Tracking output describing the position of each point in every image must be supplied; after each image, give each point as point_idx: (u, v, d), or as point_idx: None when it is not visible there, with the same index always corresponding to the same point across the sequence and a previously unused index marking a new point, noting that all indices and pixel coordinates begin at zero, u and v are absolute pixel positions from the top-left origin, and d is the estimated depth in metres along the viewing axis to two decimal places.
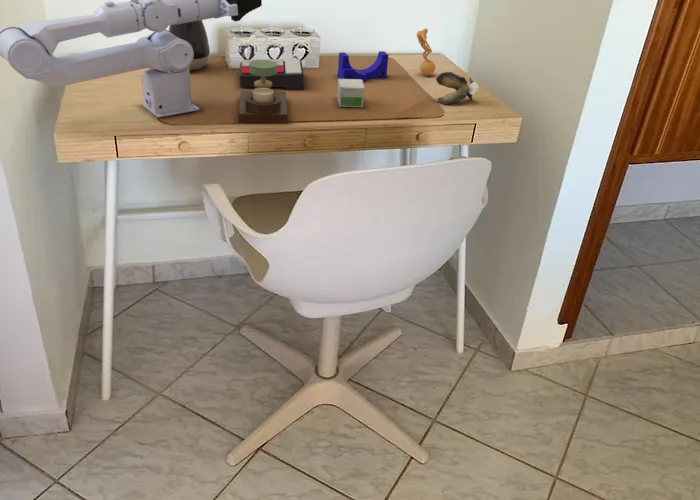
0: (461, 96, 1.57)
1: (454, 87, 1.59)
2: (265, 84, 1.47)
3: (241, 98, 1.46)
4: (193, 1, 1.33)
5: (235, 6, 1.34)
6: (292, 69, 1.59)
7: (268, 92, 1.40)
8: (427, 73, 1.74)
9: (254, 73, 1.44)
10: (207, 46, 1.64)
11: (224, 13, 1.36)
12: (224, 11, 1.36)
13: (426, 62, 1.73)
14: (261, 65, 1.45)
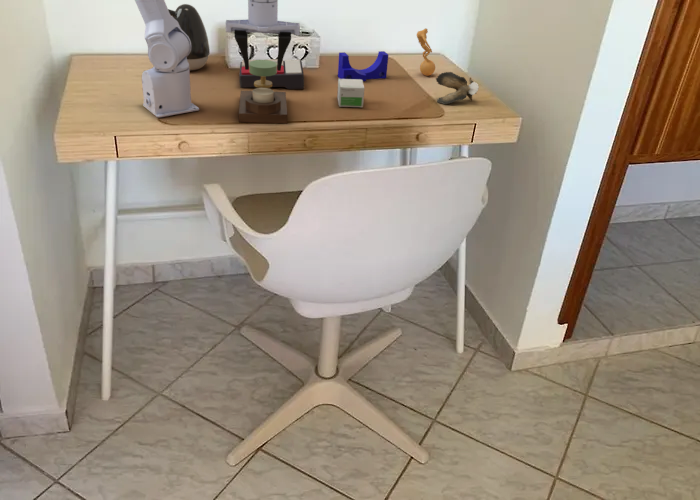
0: (461, 96, 1.57)
1: (454, 87, 1.59)
2: (265, 84, 1.47)
3: (241, 98, 1.46)
4: None
5: None
6: (292, 69, 1.59)
7: (268, 92, 1.40)
8: (427, 73, 1.74)
9: (254, 73, 1.44)
10: (207, 46, 1.64)
11: (239, 21, 1.33)
12: (238, 21, 1.33)
13: (426, 62, 1.73)
14: (261, 65, 1.45)
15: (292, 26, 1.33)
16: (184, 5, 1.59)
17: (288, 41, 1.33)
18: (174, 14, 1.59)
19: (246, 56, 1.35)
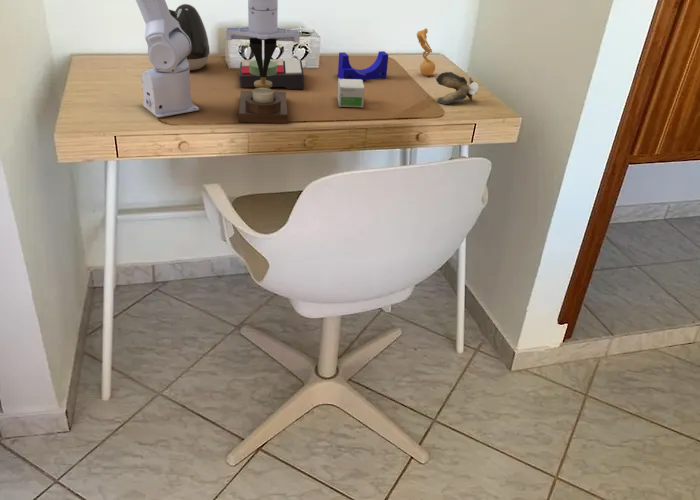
0: (461, 96, 1.57)
1: (454, 87, 1.59)
2: (265, 84, 1.47)
3: (241, 98, 1.46)
4: (268, 6, 1.29)
5: (226, 37, 1.33)
6: (292, 69, 1.59)
7: (268, 92, 1.40)
8: (427, 73, 1.74)
9: (254, 73, 1.44)
10: (207, 46, 1.64)
11: (239, 28, 1.34)
12: None
13: (426, 62, 1.73)
14: None
15: (292, 33, 1.34)
16: (184, 5, 1.59)
17: (274, 48, 1.33)
18: (174, 14, 1.59)
19: (261, 64, 1.36)
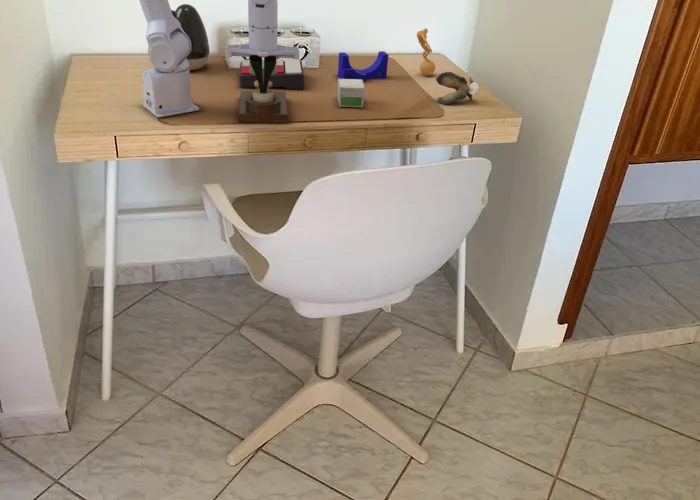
0: (461, 96, 1.57)
1: (454, 87, 1.59)
2: None
3: (241, 98, 1.46)
4: (268, 24, 1.31)
5: None
6: (292, 69, 1.59)
7: (268, 93, 1.40)
8: (427, 73, 1.74)
9: (254, 73, 1.44)
10: (207, 46, 1.64)
11: (239, 46, 1.36)
12: None
13: (426, 62, 1.73)
14: None
15: (292, 51, 1.35)
16: (184, 5, 1.59)
17: (273, 65, 1.35)
18: (174, 14, 1.59)
19: (261, 80, 1.38)
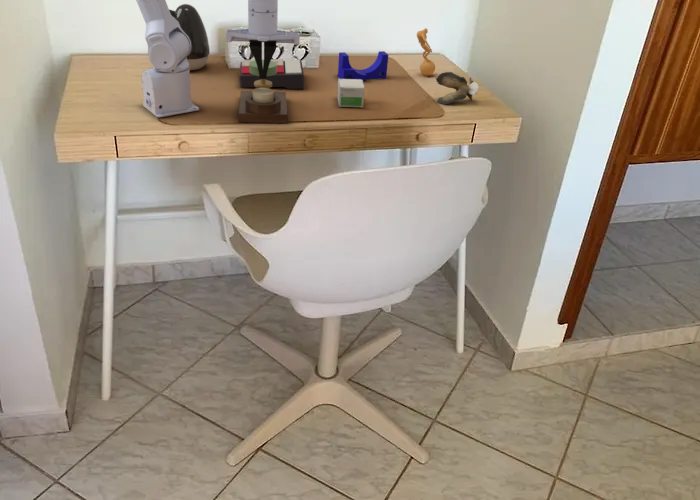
0: (461, 96, 1.57)
1: (454, 87, 1.59)
2: (265, 84, 1.47)
3: (241, 98, 1.46)
4: (268, 8, 1.29)
5: (226, 39, 1.33)
6: (292, 69, 1.59)
7: (268, 92, 1.40)
8: (427, 73, 1.74)
9: (254, 73, 1.44)
10: (207, 46, 1.64)
11: (239, 30, 1.34)
12: (239, 31, 1.34)
13: (426, 62, 1.73)
14: None
15: (292, 36, 1.34)
16: (184, 5, 1.59)
17: (273, 50, 1.34)
18: (174, 14, 1.59)
19: (261, 66, 1.36)
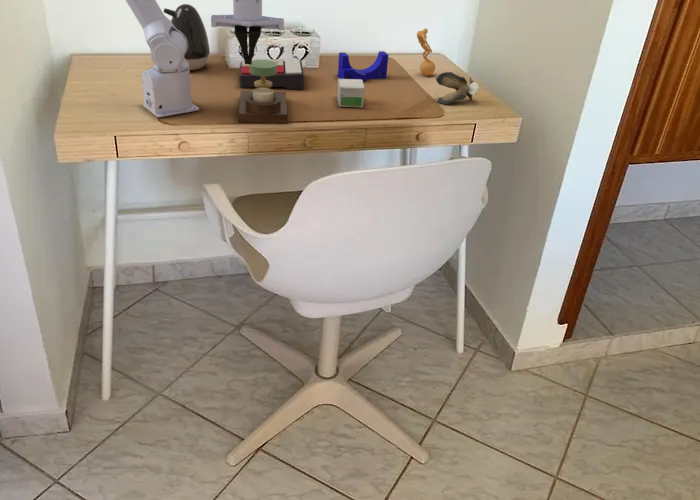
0: (461, 96, 1.57)
1: (454, 87, 1.59)
2: (265, 84, 1.47)
3: (241, 98, 1.46)
4: None
5: (211, 24, 1.35)
6: (292, 69, 1.59)
7: (268, 92, 1.40)
8: (427, 73, 1.74)
9: (254, 73, 1.44)
10: (207, 46, 1.64)
11: None
12: None
13: (426, 62, 1.73)
14: (261, 65, 1.45)
15: (276, 21, 1.36)
16: (184, 5, 1.59)
17: (258, 36, 1.35)
18: (174, 14, 1.59)
19: (246, 51, 1.38)
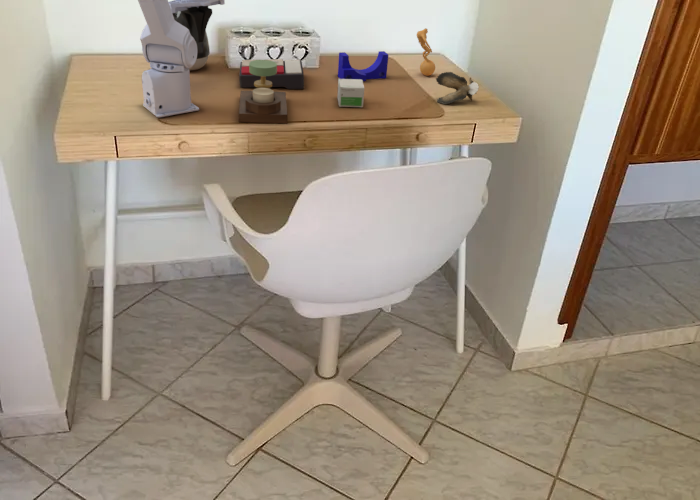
0: (461, 96, 1.57)
1: (454, 87, 1.59)
2: (265, 84, 1.47)
3: (241, 98, 1.46)
4: None
5: (170, 11, 1.42)
6: (292, 69, 1.59)
7: (268, 92, 1.40)
8: (427, 73, 1.74)
9: (254, 73, 1.44)
10: (207, 46, 1.64)
11: (175, 1, 1.44)
12: (176, 2, 1.44)
13: (426, 62, 1.73)
14: (261, 65, 1.45)
15: None
16: None
17: (211, 13, 1.48)
18: (174, 14, 1.59)
19: (200, 30, 1.49)
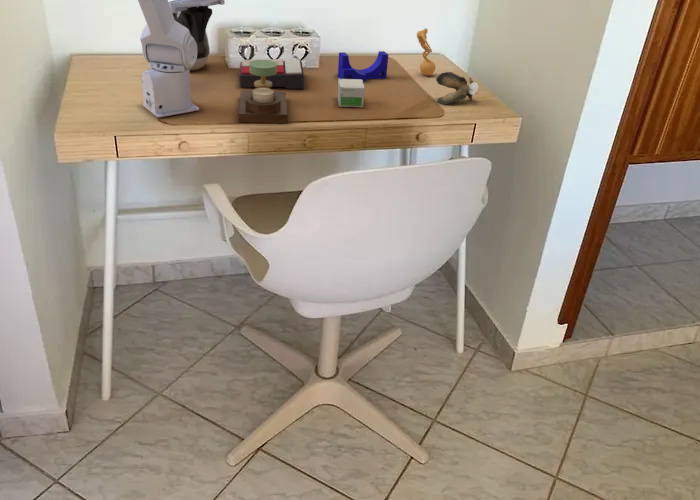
0: (461, 96, 1.57)
1: (454, 87, 1.59)
2: (265, 84, 1.47)
3: (241, 98, 1.46)
4: None
5: (170, 11, 1.42)
6: (292, 69, 1.59)
7: (268, 92, 1.40)
8: (427, 73, 1.74)
9: (254, 73, 1.44)
10: (207, 46, 1.64)
11: (175, 1, 1.44)
12: (176, 2, 1.44)
13: (426, 62, 1.73)
14: (261, 65, 1.45)
15: None
16: None
17: (211, 13, 1.48)
18: (174, 14, 1.59)
19: (200, 30, 1.49)
